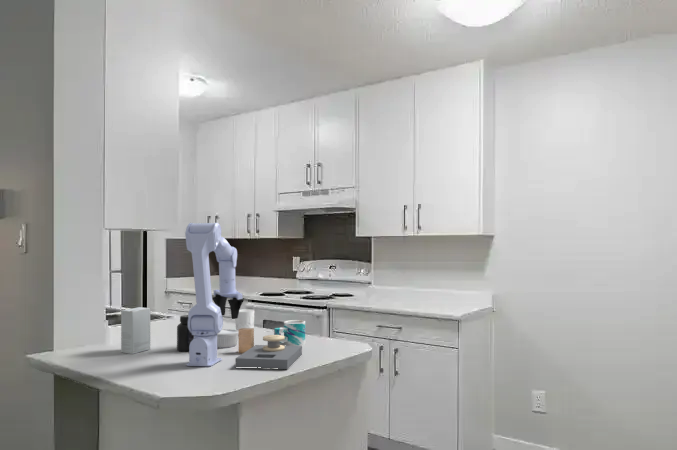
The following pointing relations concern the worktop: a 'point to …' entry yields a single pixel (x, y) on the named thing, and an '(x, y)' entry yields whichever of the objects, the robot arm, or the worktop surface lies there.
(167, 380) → the worktop surface
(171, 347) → the worktop surface
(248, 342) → the wooden block
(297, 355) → the notched board
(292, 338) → the mug
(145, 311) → the skincare box
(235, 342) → the ramekin
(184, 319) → the supplement bottle
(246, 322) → the white cup
